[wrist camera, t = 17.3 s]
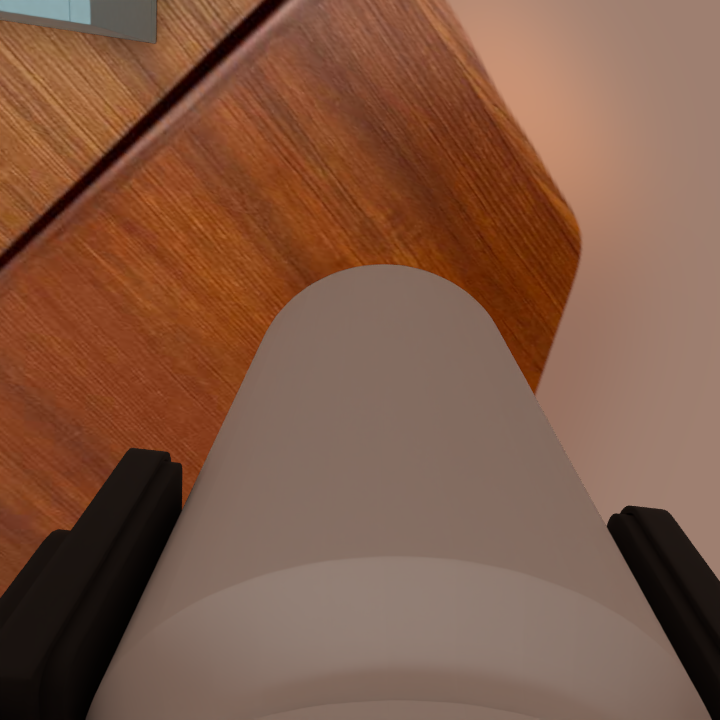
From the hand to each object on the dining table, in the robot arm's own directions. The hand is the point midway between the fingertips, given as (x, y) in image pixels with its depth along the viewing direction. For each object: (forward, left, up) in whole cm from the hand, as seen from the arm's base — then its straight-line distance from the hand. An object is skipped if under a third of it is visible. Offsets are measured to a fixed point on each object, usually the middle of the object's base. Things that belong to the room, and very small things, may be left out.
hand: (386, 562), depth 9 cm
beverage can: (0, 0, -7) cm, 7 cm away
